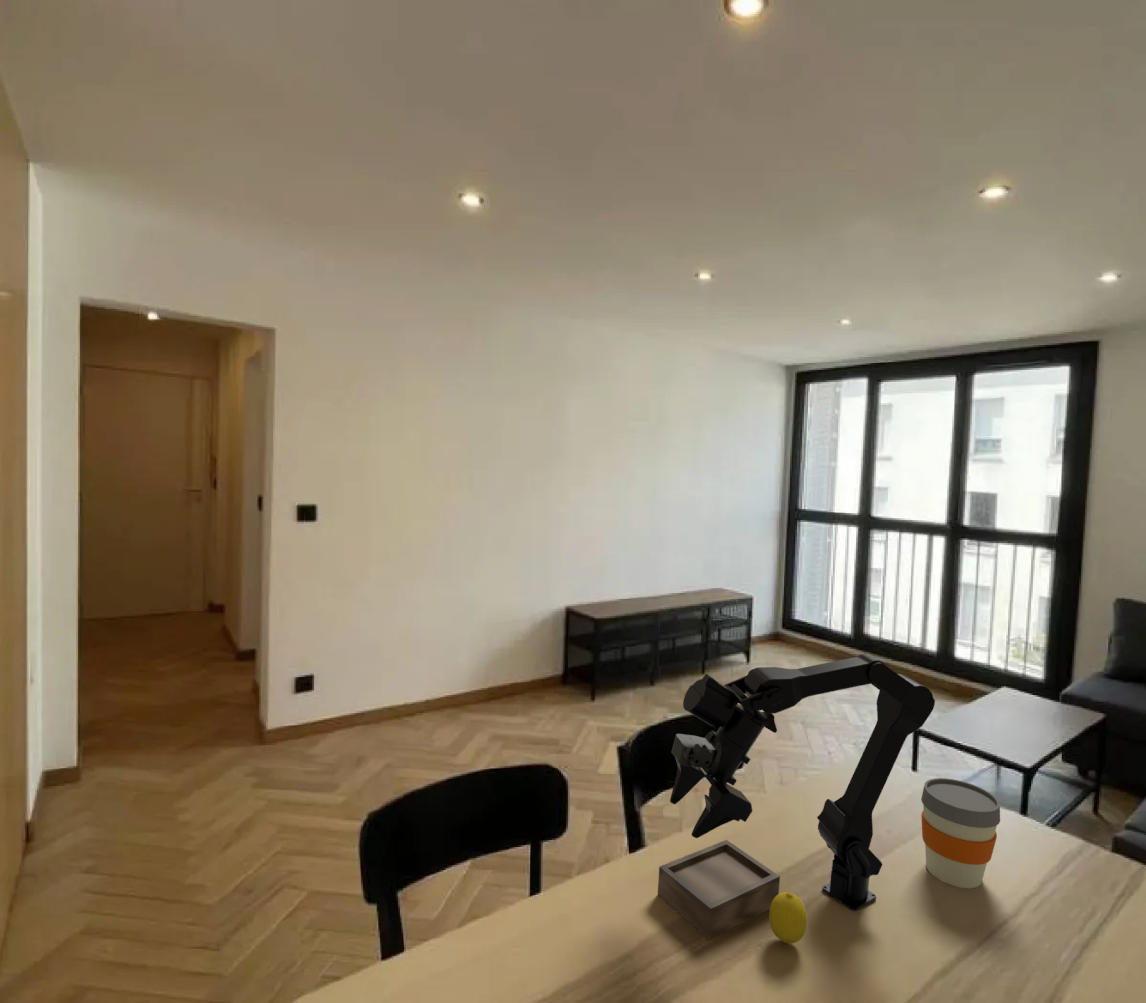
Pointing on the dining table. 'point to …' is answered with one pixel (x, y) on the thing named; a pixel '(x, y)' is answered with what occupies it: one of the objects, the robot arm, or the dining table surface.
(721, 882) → the wooden tray
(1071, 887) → the dining table surface
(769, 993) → the dining table surface
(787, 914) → the lemon
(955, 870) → the reusable coffee cup
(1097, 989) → the dining table surface
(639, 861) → the dining table surface
